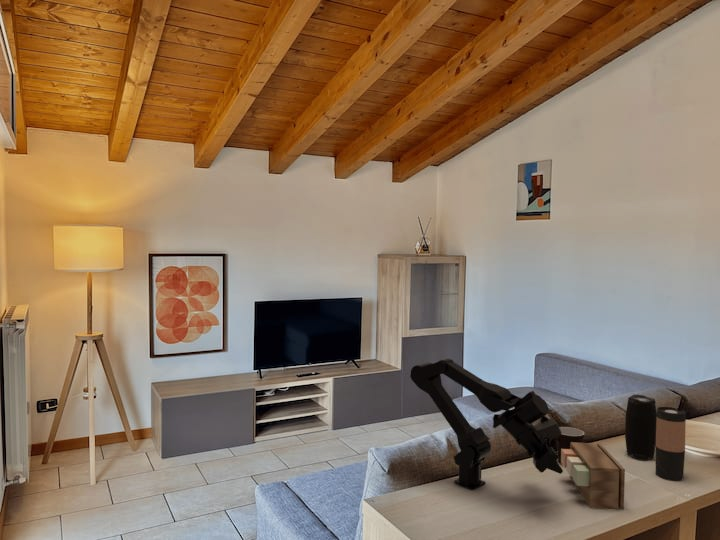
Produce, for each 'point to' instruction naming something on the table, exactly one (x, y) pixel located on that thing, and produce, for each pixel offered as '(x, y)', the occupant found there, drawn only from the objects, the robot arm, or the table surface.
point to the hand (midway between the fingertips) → (561, 472)
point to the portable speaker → (641, 427)
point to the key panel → (601, 477)
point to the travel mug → (670, 443)
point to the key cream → (573, 463)
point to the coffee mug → (567, 439)
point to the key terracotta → (567, 455)
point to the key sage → (581, 475)
